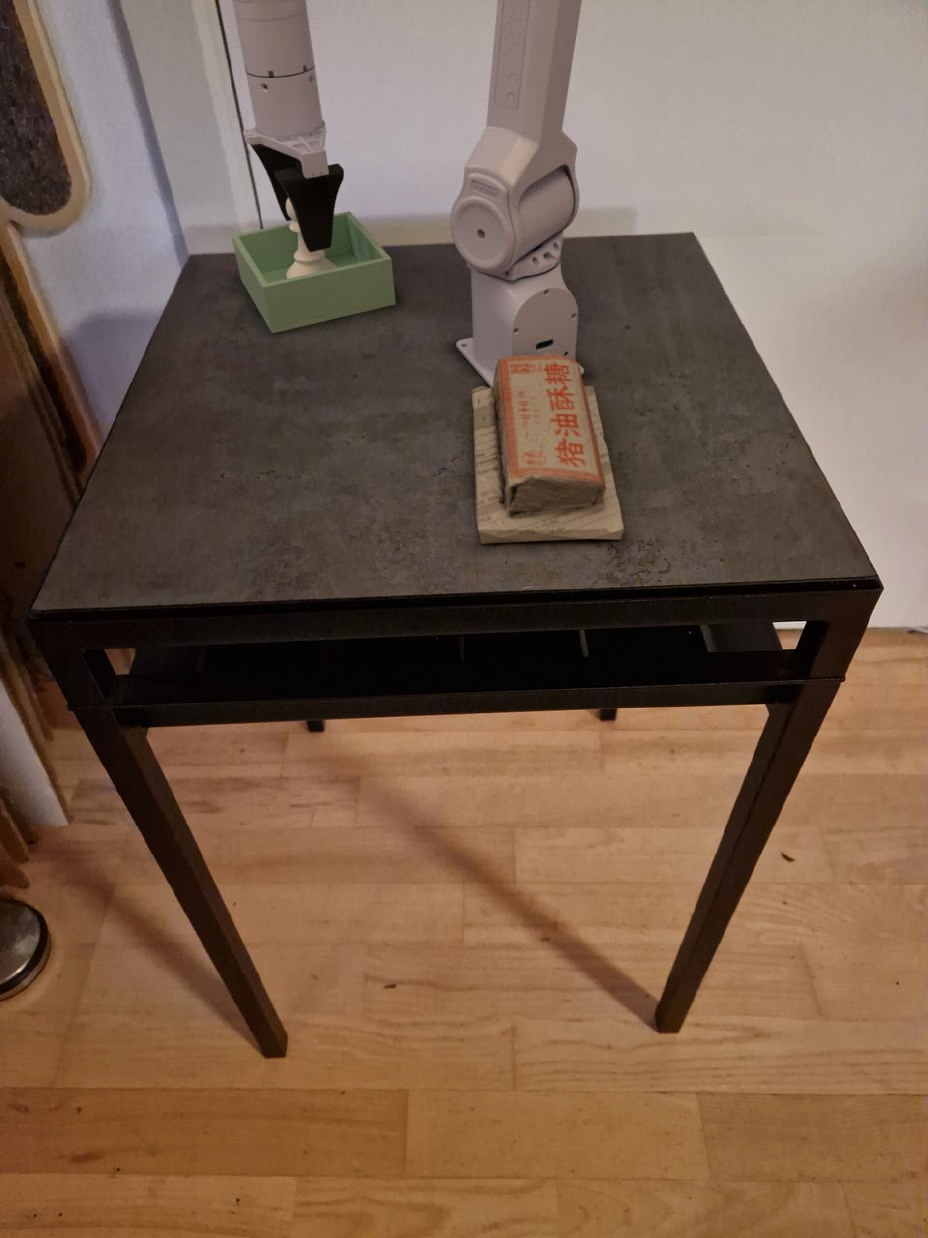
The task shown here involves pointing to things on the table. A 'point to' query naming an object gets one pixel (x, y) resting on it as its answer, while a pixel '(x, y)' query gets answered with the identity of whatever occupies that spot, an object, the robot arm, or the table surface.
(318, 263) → the chess pawn
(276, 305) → the open green box
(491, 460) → the packaged product
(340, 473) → the table surface
